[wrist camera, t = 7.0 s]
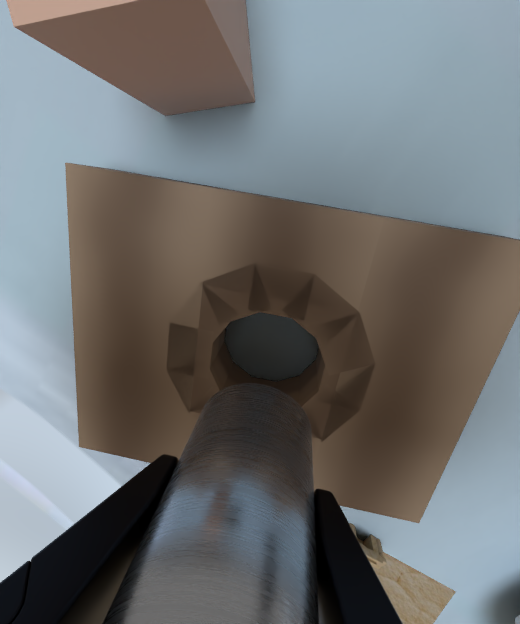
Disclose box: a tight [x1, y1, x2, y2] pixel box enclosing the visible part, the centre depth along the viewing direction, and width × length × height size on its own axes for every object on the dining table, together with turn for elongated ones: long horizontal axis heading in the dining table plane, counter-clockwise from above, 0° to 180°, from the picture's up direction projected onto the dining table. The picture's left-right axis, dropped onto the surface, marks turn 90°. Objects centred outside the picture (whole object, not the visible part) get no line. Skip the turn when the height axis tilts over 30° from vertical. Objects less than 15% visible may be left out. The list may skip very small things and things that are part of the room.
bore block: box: [65, 163, 520, 523], centre depth 16 cm, size 18×14×3 cm
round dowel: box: [102, 383, 319, 624], centre depth 7 cm, size 4×4×8 cm
